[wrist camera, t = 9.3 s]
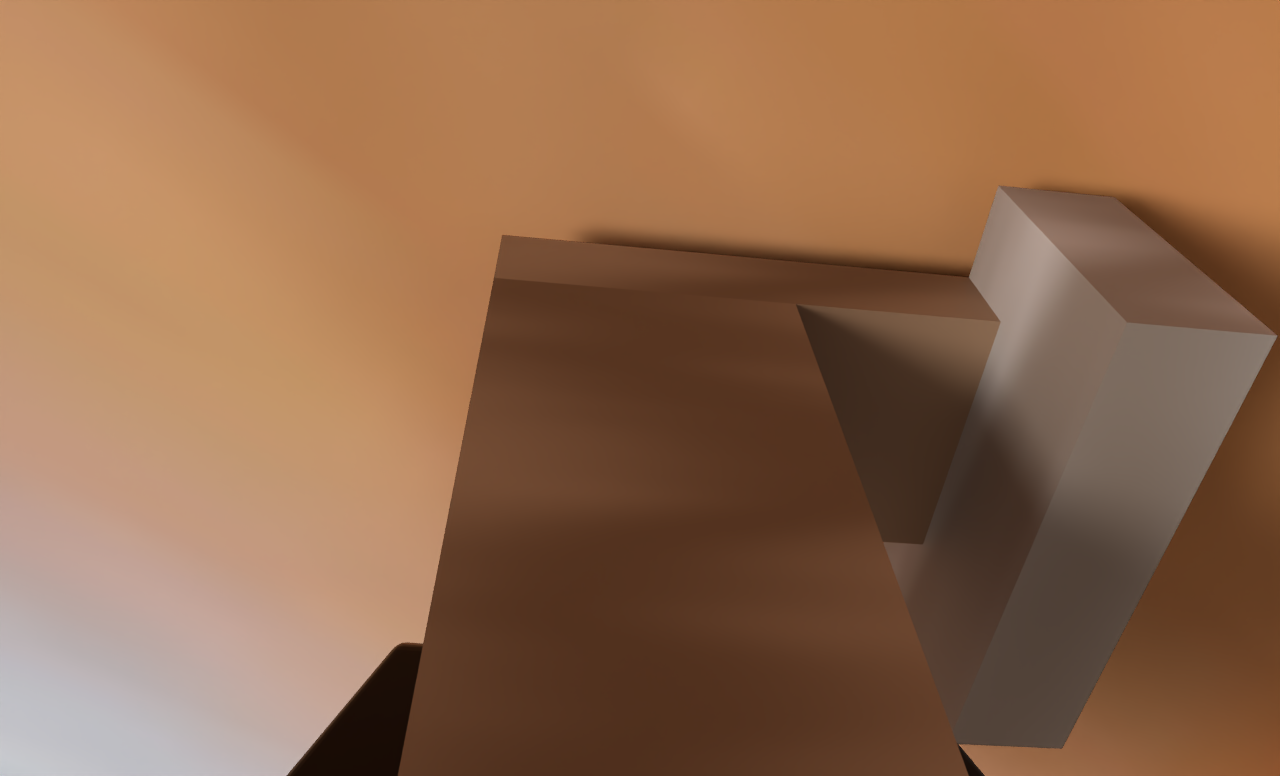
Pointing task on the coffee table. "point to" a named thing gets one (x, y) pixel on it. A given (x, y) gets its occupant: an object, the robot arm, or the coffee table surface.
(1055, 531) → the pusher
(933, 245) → the coffee table surface
